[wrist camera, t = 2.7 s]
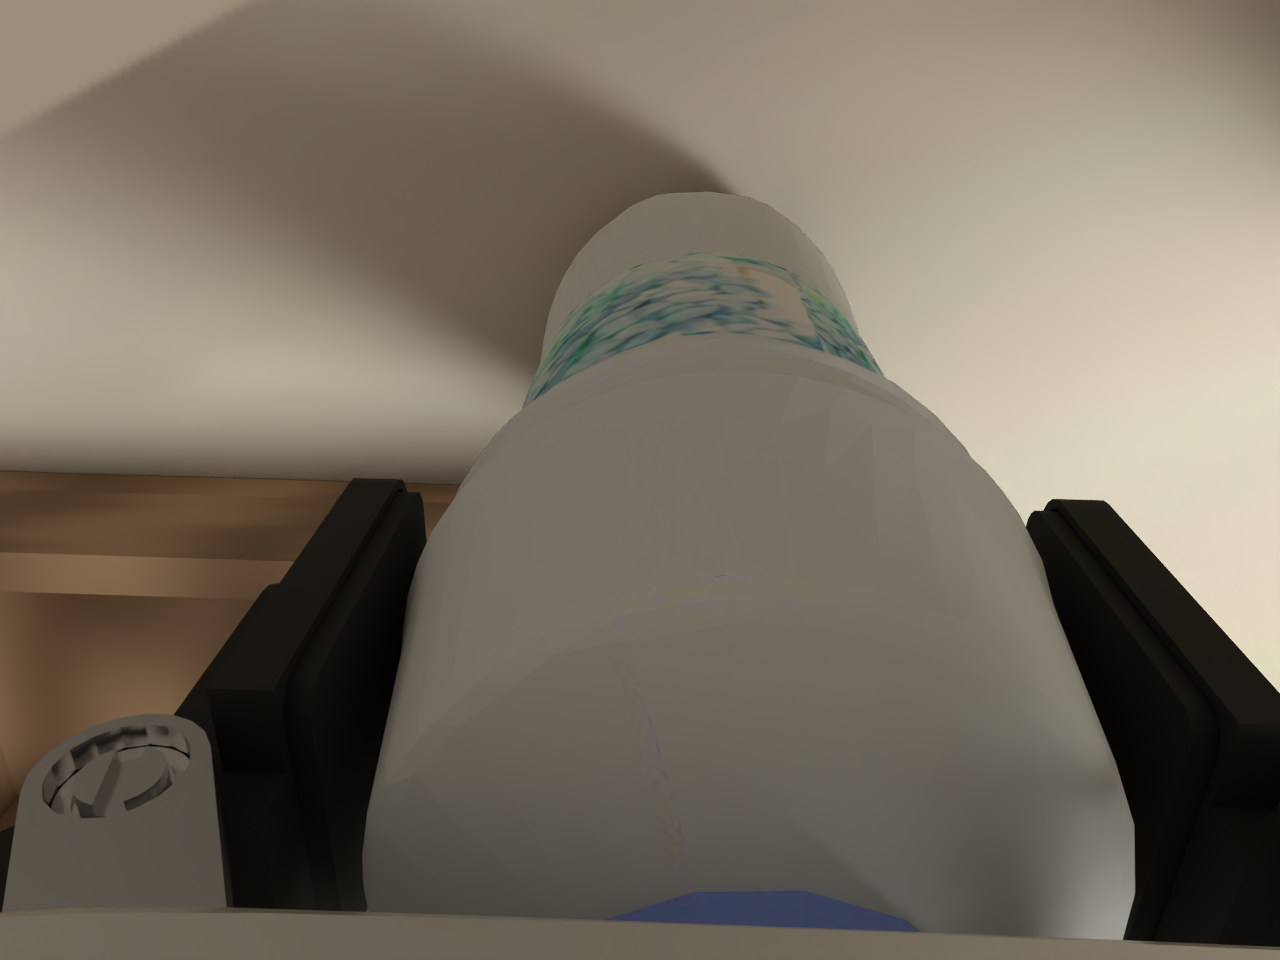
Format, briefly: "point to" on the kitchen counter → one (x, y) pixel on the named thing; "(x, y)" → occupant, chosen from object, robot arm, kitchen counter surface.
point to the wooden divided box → (133, 592)
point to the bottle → (737, 633)
